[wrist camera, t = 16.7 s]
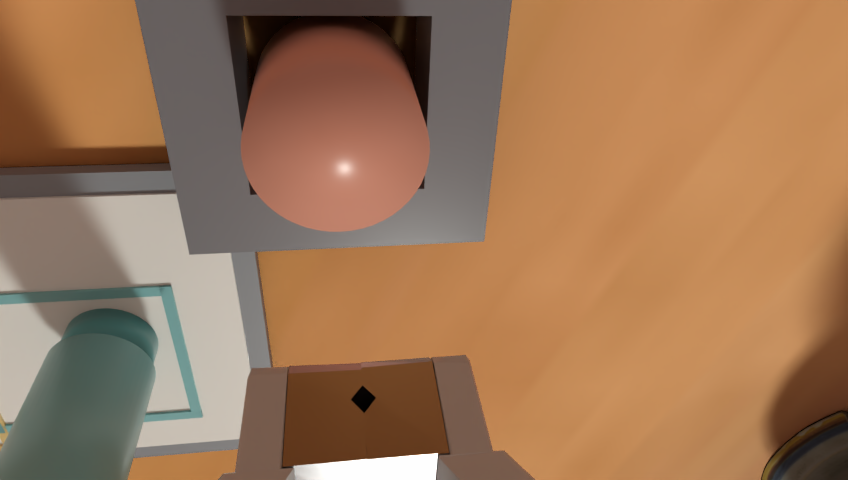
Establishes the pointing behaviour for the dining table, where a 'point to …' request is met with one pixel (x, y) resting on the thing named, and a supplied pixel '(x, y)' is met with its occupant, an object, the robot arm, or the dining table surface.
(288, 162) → the button
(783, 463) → the apothecary jar
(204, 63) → the button housing
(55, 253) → the picture board
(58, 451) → the marker
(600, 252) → the dining table surface
